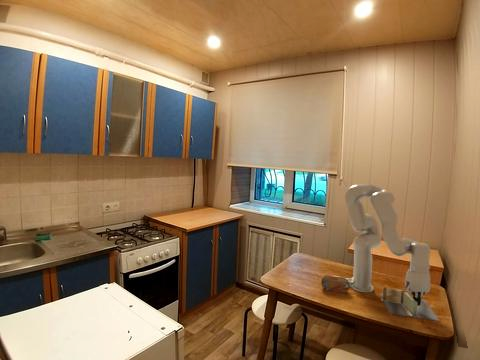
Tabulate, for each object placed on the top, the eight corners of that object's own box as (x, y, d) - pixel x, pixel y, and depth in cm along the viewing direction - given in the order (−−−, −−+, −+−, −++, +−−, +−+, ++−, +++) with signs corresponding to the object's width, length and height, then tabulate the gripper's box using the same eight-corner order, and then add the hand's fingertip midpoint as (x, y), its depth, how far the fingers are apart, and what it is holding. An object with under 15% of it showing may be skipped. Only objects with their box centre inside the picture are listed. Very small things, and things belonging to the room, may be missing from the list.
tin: (321, 289, 153) (321, 274, 152) (321, 286, 156) (322, 272, 155) (349, 294, 148) (350, 279, 147) (349, 291, 151) (350, 277, 150)
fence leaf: (402, 303, 138) (403, 291, 137) (405, 303, 138) (406, 292, 137) (414, 314, 128) (415, 302, 127) (417, 315, 128) (418, 302, 127)
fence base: (386, 313, 130) (387, 299, 130) (378, 293, 148) (379, 281, 148) (439, 321, 124) (441, 307, 123) (424, 300, 142) (425, 287, 142)
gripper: (428, 264, 134) (425, 299, 136) (399, 265, 134) (396, 300, 135) (440, 271, 127) (436, 308, 129) (409, 271, 126) (406, 308, 128)
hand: (416, 304), depth 132 cm, fingers closed
